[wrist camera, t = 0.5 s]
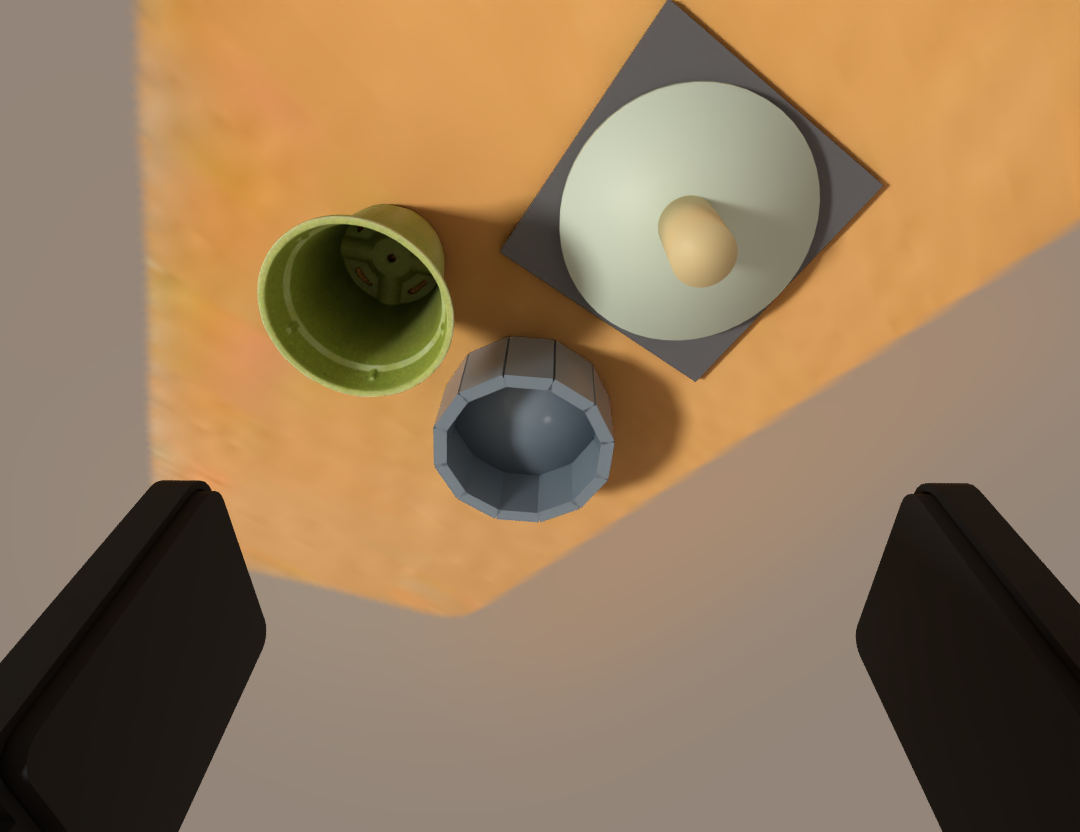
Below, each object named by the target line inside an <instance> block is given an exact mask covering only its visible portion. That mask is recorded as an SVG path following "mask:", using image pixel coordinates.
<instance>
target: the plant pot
mask: <svg viewBox="0 0 1080 832" xmlns="http://www.w3.org/2000/svg"><path fill="white" fill-rule="evenodd" d="M358 226H362V227H365V228H363V230H361V231H360V232H358V231H357V227H358ZM389 254H393V255H394V256H395V258H396V260H395V261H394V262H390V261H388V259H387V256H388V255H389ZM357 267H359V268H360V269H361V271H362V272H363V273H364V275H365V277H366V278H367V279H368V280H369V282H370V283H372V286H371V285H368V284H367V283H365V282H364V281H362V279H361V278H360V277H359V276H358V274H357V273H356V268H357ZM423 280H426V283H427V284H426V285H425V286H424V287H423V288H421V289H420V290H419V291H418V292H416V293H414V294H410V293H409V292H408V291H409V289H412V288H413V287H415V286H417V285H418V284H420V283H421V282H422V281H423ZM257 293H258V305H259V310H260V315H261V318H262V321H263V324H264V326H265V329H266V331H267V333H268V335H269V337H270V338H271V340H272V342H273V343H274V344H275V346H276V347H277V349H278V350H279V352H280V353H281V354H282V355H283V357H284V358H285V359H286V360H287V361H288V362H290V363H291V364H292V365H293V366H294V367H295V368H296V369H298V370H299V371H300V372H301V373H303V374H304V375H305V376H307V377H308V378H310V379H312V380H313V381H316V382H318V383H319V384H321V385H323V386H325V387H327V388H330V389H332V390H335V391H338V392H341V393H345V394H349V395H356V396H362V397H376V396H386V395H392V394H397V393H401V392H403V391H406V390H408V389H411V388H413V387H414V386H416V385H418V384H419V383H421V382H423V381H424V380H425V379H427V378H428V377H429V376H430V375H431V374H432V373H433V372H434V371H435V370H436V369H437V368H438V367H439V365H440V364H441V363H442V361H443V360H444V358H445V356H446V354H447V352H448V349H449V347H450V344H451V340H452V336H453V330H454V309H453V303H452V299H451V295H450V292H449V289H448V287H447V284H446V282H445V280H444V252H443V248H442V244H441V242H440V239H439V237H438V235H437V234H436V232H435V230H434V229H433V228H432V226H431V225H430V224H429V223H428V222H427V221H426V220H425V219H424V218H422V217H421V216H420V215H418V214H417V213H415V212H414V211H412V210H409V209H406V208H403V207H399V206H394V205H386V204H380V205H374V206H371V207H368V208H366V209H363V210H362V211H359V212H357V213H355V214H353V215H329V216H322V217H318V218H314V219H311V220H308V221H305V222H303V223H301V224H299V225H297V226H295V227H294V228H292V229H291V230H289V231H288V232H286V233H285V234H284V235H283V236H282V237H281V238H280V239H279V240H278V241H277V242H276V243H275V244H274V245H273V246H272V248H271V249H270V251H269V252H268V254H267V256H266V258H265V260H264V262H263V264H262V267H261V270H260V274H259V279H258V290H257Z"/></svg>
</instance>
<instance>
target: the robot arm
mask: <svg viewBox="0 0 1080 832" xmlns="http://www.w3.org/2000/svg"><path fill="white" fill-rule="evenodd" d="M265 638H266V623H265V619H264V617H263V614H262V611H261V608H260V605H259V602H258V599H257V596H256V593H255V590H254V587H253V584H252V581H251V578H250V576H249V573H248V570H247V567H246V564H245V561H244V558H243V555H242V552H241V549H240V546H239V543H238V541H237V538H236V535H235V532H234V529H233V526H232V523H231V520H230V517H229V514H228V511H227V508H226V505H225V503H224V500H223V498H222V496H221V494H220V493H219V492H216V491H211V489H210V487H209V485H208V484H207V483H206V482H203V481H179V480H162V481H158V482H156V483H154V484H153V485H152V486H151V487H150V488H149V489H148V490H147V491H146V493H145V494H144V495H143V496H142V497H141V499H140V500H139V501H138V502H137V503H136V504H135V506H134V507H133V508H132V509H131V510H130V511H129V513H128V514H127V515H126V516H125V517H124V518H123V520H122V521H121V522H120V523H119V524H118V525H117V527H116V528H115V529H114V530H113V531H112V533H111V534H110V535H109V536H108V537H107V538H106V540H105V541H104V542H103V543H102V544H101V545H100V547H99V548H98V549H97V550H96V551H95V553H94V554H93V555H92V556H91V557H90V558H89V559H88V561H87V562H86V563H85V564H84V565H83V566H82V568H81V569H80V570H79V571H78V572H77V574H76V575H75V576H74V577H73V578H72V579H71V581H70V582H69V583H68V584H67V585H66V586H65V588H64V589H63V590H62V591H61V592H60V593H59V595H58V596H57V597H56V598H55V599H54V600H53V602H52V603H51V604H50V605H49V606H48V608H47V609H46V610H45V611H44V612H43V613H42V615H41V616H40V617H39V618H38V619H37V620H36V622H35V623H34V624H33V625H32V626H31V628H30V629H29V630H28V631H27V632H26V633H25V635H24V636H23V637H22V638H21V639H20V640H19V642H18V643H17V644H16V645H15V646H14V648H13V649H12V650H11V651H10V652H9V653H8V654H7V656H6V657H5V658H4V659H3V660H2V662H1V663H0V832H178V831H179V829H180V827H181V825H182V823H183V821H184V818H185V816H186V814H187V812H188V810H189V807H190V805H191V803H192V801H193V799H194V797H195V794H196V792H197V790H198V788H199V786H200V784H201V781H202V779H203V777H204V775H205V773H206V771H207V768H208V766H209V764H210V762H211V760H212V758H213V755H214V753H215V751H216V749H217V747H218V745H219V742H220V740H221V738H222V736H223V734H224V732H225V729H226V727H227V725H228V723H229V721H230V719H231V716H232V714H233V712H234V710H235V707H236V706H237V703H238V701H239V699H240V697H241V695H242V693H243V690H244V688H245V686H246V684H247V682H248V680H249V677H250V675H251V673H252V671H253V669H254V667H255V664H256V662H257V659H258V658H259V655H260V653H261V651H262V649H263V646H264V643H265ZM856 644H857V648H858V652H859V654H860V657H861V659H862V661H863V663H864V665H865V667H866V670H867V672H868V674H869V676H870V678H871V680H872V682H873V685H874V686H875V689H876V691H877V693H878V695H879V697H880V699H881V702H882V703H883V706H884V708H885V710H886V712H887V714H888V717H889V719H890V721H891V723H892V725H893V727H894V729H895V731H896V733H897V736H898V738H899V740H900V742H901V744H902V746H903V748H904V751H905V753H906V755H907V757H908V759H909V761H910V763H911V765H912V768H913V770H914V772H915V774H916V776H917V778H918V780H919V783H920V785H921V786H922V789H923V791H924V793H925V795H926V797H927V800H928V802H929V804H930V806H931V808H932V810H933V812H934V814H935V817H936V819H937V821H938V823H939V825H940V827H941V829H942V832H1080V604H1079V603H1078V602H1077V601H1076V600H1075V599H1074V597H1073V596H1072V595H1071V594H1070V593H1069V592H1068V591H1067V589H1066V588H1065V587H1064V586H1063V585H1062V584H1061V583H1060V581H1059V580H1058V579H1057V578H1056V577H1055V576H1054V575H1053V574H1052V572H1051V571H1050V570H1049V569H1048V568H1047V567H1046V566H1045V564H1044V563H1043V562H1042V561H1041V560H1040V559H1039V558H1038V556H1037V555H1036V554H1035V553H1034V552H1033V551H1032V550H1031V549H1030V547H1029V546H1028V545H1027V544H1026V543H1025V542H1024V541H1023V539H1022V538H1021V537H1020V536H1019V535H1018V534H1017V533H1016V531H1014V529H1013V528H1012V527H1011V526H1010V525H1009V523H1008V522H1007V521H1006V520H1005V519H1004V518H1003V517H1002V516H1001V514H1000V513H999V512H998V511H997V510H996V509H995V508H994V506H993V505H992V504H991V503H990V502H989V501H988V500H987V498H986V497H985V496H984V495H983V494H982V493H981V492H980V491H979V490H978V489H977V488H976V487H975V486H973V485H970V484H967V483H925V484H921V485H920V486H919V487H918V488H917V489H916V491H915V493H914V494H909V495H907V496H905V497H904V499H903V501H902V503H901V505H900V508H899V511H898V514H897V517H896V519H895V522H894V525H893V528H892V530H891V534H890V536H889V539H888V542H887V545H886V547H885V550H884V553H883V556H882V558H881V561H880V564H879V567H878V570H877V572H876V575H875V578H874V581H873V584H872V586H871V589H870V592H869V595H868V598H867V600H866V603H865V606H864V609H863V612H862V614H861V617H860V620H859V623H858V625H857V629H856Z"/></svg>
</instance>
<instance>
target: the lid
mask: <svg viewBox="0 0 1080 832" xmlns="http://www.w3.org/2000/svg"><path fill="white" fill-rule="evenodd" d="M819 206H820V187H819V179H818V173H817V168H816V165H815V162H814V158H813V155H812V152H811V150H810V148H809V146H808V144H807V142H806V140H805V138H804V136H803V135H802V133H801V132H800V131H799V129H798V128H797V126H796V125H795V124H794V122H793V121H792V120H791V119H790V118H789V117H788V116H787V115H786V114H785V113H784V112H783V111H782V110H781V109H779V108H778V107H777V106H775V105H774V104H772V103H771V102H770V101H768V100H767V99H765V98H763V97H761V96H759V95H757V94H755V93H753V92H751V91H749V90H747V89H745V88H742V87H739V86H736V85H733V84H729V83H723V82H717V81H702V80H693V81H685V82H677V83H672V84H669V85H665V86H662V87H658V88H655V89H653V90H651V91H648V92H646V93H643V94H641V95H639V96H637V97H636V98H634V99H632V100H631V101H629V102H627V103H625V104H624V105H622V106H621V107H620V108H618V109H617V110H616V111H615V112H613V113H612V114H611V115H609V116H608V117H607V118H606V119H605V120H604V121H603V122H602V123H601V124H600V125H599V126H598V127H597V128H596V129H595V130H594V132H593V133H592V134H591V136H590V137H589V138H588V139H587V141H586V142H585V143H584V145H583V146H582V148H581V150H580V152H579V153H578V155H577V157H576V158H575V160H574V162H573V165H572V167H571V169H570V172H569V174H568V176H567V180H566V183H565V186H564V190H563V194H562V200H561V207H560V240H561V248H562V252H563V257H564V261H565V264H566V266H567V269H568V272H569V274H570V277H571V278H572V280H573V282H574V284H575V286H576V287H577V289H578V291H579V292H580V293H581V295H582V296H583V297H584V299H585V300H586V301H587V302H588V303H589V304H590V305H591V306H592V307H593V308H594V309H595V310H596V312H598V313H599V314H600V315H601V316H603V317H604V318H605V319H607V320H608V321H609V322H611V323H613V324H615V325H616V326H618V327H620V328H622V329H624V330H626V331H629V332H631V333H634V334H637V335H640V336H644V337H648V338H653V339H660V340H679V341H680V340H690V339H698V338H702V337H707V336H711V335H714V334H717V333H720V332H723V331H726V330H728V329H730V328H733V327H735V326H737V325H739V324H741V323H743V322H744V321H746V320H748V319H749V318H751V317H753V316H754V315H756V314H757V313H758V312H760V311H761V310H762V309H764V308H765V307H766V306H768V305H769V304H770V303H771V302H772V301H773V300H774V299H775V298H776V297H777V296H778V295H779V294H780V293H781V292H782V291H783V290H784V288H785V287H786V286H787V285H788V284H789V283H790V281H791V280H792V278H793V277H794V275H795V274H796V273H797V271H798V270H799V268H800V266H801V264H802V263H803V261H804V259H805V257H806V255H807V253H808V251H809V248H810V245H811V243H812V240H813V237H814V234H815V230H816V226H817V221H818V215H819Z"/></svg>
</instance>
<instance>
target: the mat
mask: <svg viewBox="0 0 1080 832" xmlns="http://www.w3.org/2000/svg"><path fill="white" fill-rule="evenodd" d="M693 80H702V81H717V82H723V83H729V84H733V85H736V86H739V87H742V88H745V89H747V90H749V91H751V92H753V93H755V94H757V95H759V96H761V97H763V98H765V99H767V100H768V101H770V102H771V103H772V104H774V105H775V106H777V107H778V108H779V109H781V110H782V111H783V112H784V113H785V114H786V115H787V116H788V117H789V118H790V119H791V120H792V121H793V122H794V124H795V125H796V126H797V128H798V129H799V131H800V132H801V133H802V135H803V136H804V138H805V140H806V142H807V144H808V146H809V148H810V150H811V152H812V155H813V158H814V162H815V165H816V168H817V173H818V179H819V187H820V206H819V215H818V221H817V226H816V230H815V234H814V237H813V240H812V243H811V245H810V248H809V251H808V253H807V255H806V257H805V259H804V261H803V263H802V264H801V266H800V268H799V270H798V271H797V273H796V274H795V275H794V277H793V278H792V280H793V279H794V278H795V277H796V276H797V275H798V274H799V273H800V272H801V271H802V270H803V269H804V268H805V267H806V266H807V265H808V264H809V263H810V262H811V261H812V260H813V258H814V257H815V256H816V255H817V254H818V253H819V252H820V251H821V250H822V249H823V248H824V247H825V246H826V245H827V244H828V243H829V242H830V241H831V240H832V239H833V238H834V236H835V235H836V234H837V233H838V232H839V231H840V230H841V229H842V228H843V227H844V226H845V225H846V224H847V223H848V222H849V221H850V220H851V219H852V218H853V217H854V216H855V214H856V213H857V212H858V211H859V210H860V209H861V208H862V207H863V206H864V205H865V204H866V203H867V202H868V201H869V200H870V199H871V198H872V197H873V196H874V195H875V194H876V192H877V191H878V190H879V189H880V188H881V187H882V186H883V185H882V184H881V183H880V182H879V181H878V180H877V179H875V178H874V177H873V176H872V175H871V174H870V173H869V172H867V171H866V170H865V169H864V168H863V167H862V166H860V165H859V164H858V163H857V162H856V161H855V160H854V159H852V158H851V157H850V156H849V155H848V154H847V153H846V152H844V151H843V150H842V149H841V148H840V147H839V146H838V145H836V144H835V143H834V142H833V141H832V140H831V139H829V138H828V137H827V136H826V135H825V134H824V133H823V132H821V131H820V130H819V129H818V128H817V127H816V126H815V125H813V124H812V123H811V122H810V121H809V120H808V119H807V118H805V117H804V116H803V115H802V114H801V113H800V112H798V111H797V110H796V109H795V108H794V107H793V106H792V105H790V104H789V103H788V102H787V101H786V100H785V99H784V98H782V97H781V96H780V95H779V94H778V93H777V92H776V91H774V90H773V89H772V88H771V87H770V86H769V85H767V84H766V83H765V82H764V81H763V80H762V79H761V78H759V77H758V76H757V75H756V74H755V73H754V72H753V71H751V70H750V69H749V68H748V67H747V66H746V65H745V64H743V63H742V62H741V61H740V60H739V59H738V58H736V57H735V56H734V55H733V54H732V53H731V52H730V51H728V50H727V49H726V48H725V47H724V46H723V45H722V44H720V43H719V42H718V41H717V40H716V39H715V38H714V37H712V36H711V35H710V34H709V33H708V32H707V31H705V30H704V29H703V28H702V27H701V26H700V25H699V24H697V23H696V22H695V21H694V20H693V19H692V18H691V17H689V16H688V15H687V14H686V13H685V12H684V11H683V10H681V9H680V8H679V7H678V6H677V5H676V4H675V3H673V2H672V1H671V0H667V1H666V3H665V4H664V6H663V7H662V9H661V10H660V12H659V13H658V15H657V16H656V18H655V19H654V21H653V22H652V23H651V25H650V26H649V28H648V29H647V31H646V32H645V34H644V35H643V37H642V38H641V40H640V41H639V43H638V44H637V46H636V47H635V49H634V50H633V52H632V53H631V55H630V56H629V58H628V59H627V61H626V62H625V64H624V65H623V67H622V68H621V70H620V71H619V73H618V74H617V76H616V77H615V79H614V80H613V82H612V83H611V85H610V86H609V88H608V89H607V91H606V92H605V94H604V95H603V97H602V98H601V100H600V101H599V103H598V104H597V106H596V107H595V109H594V110H593V112H592V113H591V115H590V116H589V118H588V119H587V121H586V122H585V124H584V125H583V127H582V128H581V130H580V131H579V133H578V134H577V136H576V137H575V139H574V140H573V142H572V143H571V145H570V146H569V148H568V149H567V151H566V152H565V154H564V155H563V157H562V158H561V160H560V161H559V163H558V164H557V166H556V167H555V169H554V170H553V172H552V173H551V175H550V176H549V178H548V179H547V180H546V182H545V183H544V185H543V186H542V188H541V189H540V191H539V192H538V194H537V195H536V197H535V198H534V200H533V201H532V203H531V204H530V206H529V207H528V209H527V210H526V212H525V213H524V215H523V216H522V218H521V219H520V221H519V222H518V224H517V225H516V227H515V228H514V230H513V231H512V233H511V234H510V236H509V237H508V239H507V240H506V242H505V243H504V245H503V246H502V248H501V250H500V253H502V254H503V255H505V256H506V257H508V258H509V259H511V260H512V261H514V262H515V263H517V264H518V265H520V266H522V267H523V268H525V269H526V270H528V271H529V272H531V273H532V274H534V275H535V276H537V277H538V278H540V279H541V280H543V281H544V282H546V283H547V284H549V285H550V286H552V287H553V288H555V289H556V290H558V291H559V292H561V293H562V294H564V295H565V296H567V297H568V298H570V299H571V300H573V301H574V302H576V303H577V304H579V305H580V306H582V307H583V308H585V309H586V310H588V311H589V312H591V313H592V314H594V315H595V316H597V317H598V318H600V319H601V320H603V321H604V322H606V323H607V324H609V325H610V326H612V327H614V328H615V329H617V330H618V331H620V332H621V333H623V334H624V335H626V336H627V337H629V338H630V339H632V340H633V341H635V342H636V343H638V344H639V345H641V346H642V347H644V348H645V349H647V350H648V351H650V352H651V353H653V354H654V355H656V356H657V357H659V358H660V359H662V360H663V361H665V362H666V363H668V364H669V365H671V366H672V367H674V368H675V369H677V370H678V371H680V372H681V373H683V374H684V375H686V376H687V377H689V378H690V379H692V380H693V381H695V382H696V381H697V380H698V379H699V378H700V377H701V376H702V375H703V374H704V373H705V372H706V371H707V370H708V369H709V367H710V366H711V365H712V364H713V363H714V362H715V361H716V360H717V359H718V358H719V357H720V356H721V355H722V354H723V353H724V352H725V351H726V350H727V349H728V348H729V347H730V345H731V344H732V343H733V342H734V341H735V340H736V339H737V338H738V337H739V336H740V335H741V334H742V333H743V332H744V331H745V330H746V329H747V328H748V327H749V326H750V324H751V323H752V322H753V321H754V320H755V319H756V318H757V317H758V316H759V315H760V314H761V313H762V312H763V311H764V310H765V309H766V308H767V307H768V306H769V305H770V304H771V303H770V304H769V305H768V306H766V307H765V308H764V309H762V310H761V311H760V312H758V313H757V314H756V315H754V316H753V317H751V318H749V319H748V320H746V321H744V322H743V323H741V324H739V325H737V326H735V327H733V328H730V329H728V330H726V331H723V332H720V333H717V334H714V335H711V336H707V337H702V338H698V339H690V340H680V341H679V340H660V339H653V338H648V337H644V336H640V335H637V334H634V333H631V332H629V331H626V330H624V329H622V328H620V327H618V326H616V325H615V324H613V323H611V322H609V321H608V320H607V319H605V318H604V317H603V316H601V315H600V314H599V313H598V312H596V310H595V309H594V308H593V307H592V306H591V305H590V304H589V303H588V302H587V301H586V300H585V299H584V297H583V296H582V295H581V293H580V292H579V291H578V289H577V287H576V286H575V284H574V282H573V280H572V278H571V277H570V274H569V272H568V269H567V266H566V264H565V261H564V257H563V252H562V248H561V240H560V207H561V200H562V194H563V190H564V186H565V183H566V180H567V176H568V174H569V172H570V169H571V167H572V165H573V162H574V160H575V158H576V157H577V155H578V153H579V152H580V150H581V148H582V146H583V145H584V143H585V142H586V141H587V139H588V138H589V137H590V136H591V134H592V133H593V132H594V130H595V129H596V128H597V127H598V126H599V125H600V124H601V123H602V122H603V121H604V120H605V119H606V118H607V117H608V116H609V115H611V114H612V113H613V112H615V111H616V110H617V109H618V108H620V107H621V106H622V105H624V104H625V103H627V102H629V101H631V100H632V99H634V98H636V97H637V96H639V95H641V94H643V93H646V92H648V91H651V90H653V89H655V88H658V87H662V86H665V85H669V84H672V83H677V82H685V81H693ZM792 280H791V281H790V283H791V282H792ZM790 283H789V284H790ZM789 284H788V285H789ZM788 285H787V286H788ZM787 286H786V287H787ZM786 287H785V288H786ZM785 288H784V289H785Z"/></svg>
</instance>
